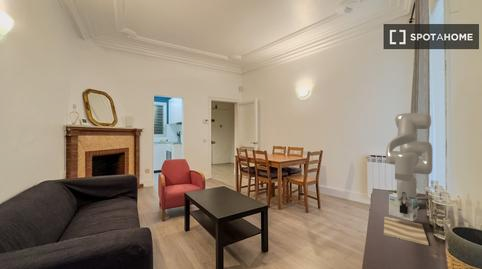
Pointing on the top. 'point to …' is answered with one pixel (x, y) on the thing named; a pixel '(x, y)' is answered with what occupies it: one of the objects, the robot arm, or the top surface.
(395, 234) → the oak board
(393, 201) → the light bulb box
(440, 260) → the top surface
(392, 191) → the figurine
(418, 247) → the top surface
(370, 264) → the top surface
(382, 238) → the top surface
